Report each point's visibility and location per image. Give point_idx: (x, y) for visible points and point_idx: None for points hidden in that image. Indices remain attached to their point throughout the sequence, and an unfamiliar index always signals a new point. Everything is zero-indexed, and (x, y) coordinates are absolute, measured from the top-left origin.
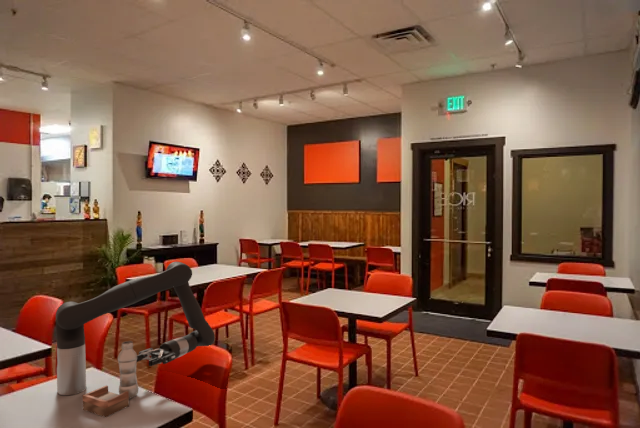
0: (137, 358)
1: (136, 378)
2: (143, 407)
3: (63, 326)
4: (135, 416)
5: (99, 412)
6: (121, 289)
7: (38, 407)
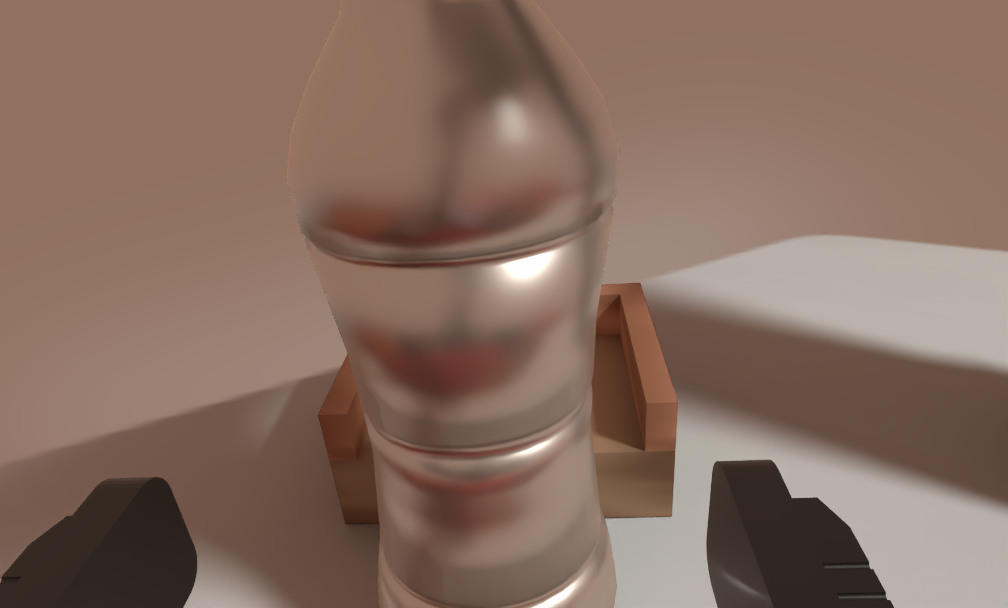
0: (740, 586)
1: (393, 529)
2: None
3: None
4: (183, 460)
5: None
6: None
7: (912, 304)
